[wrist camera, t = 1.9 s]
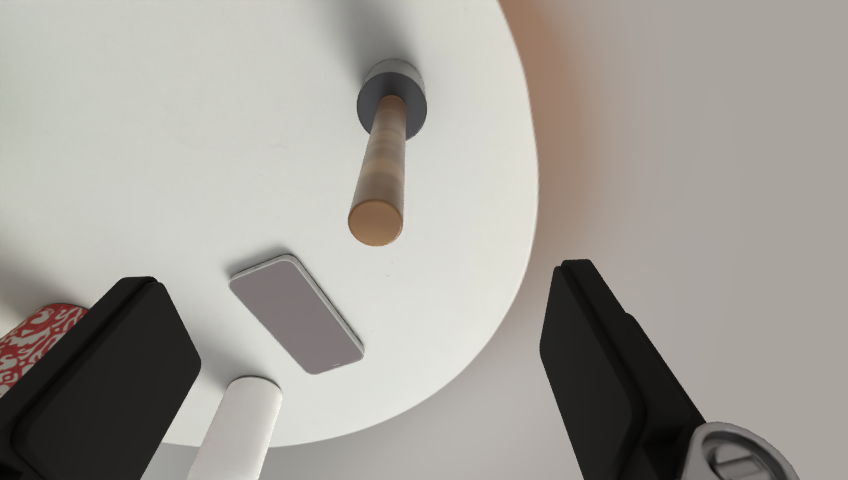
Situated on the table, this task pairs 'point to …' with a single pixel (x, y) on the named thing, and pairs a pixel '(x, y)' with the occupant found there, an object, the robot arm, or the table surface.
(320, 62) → the table surface
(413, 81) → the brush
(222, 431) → the can
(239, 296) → the smartphone
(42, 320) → the mug
